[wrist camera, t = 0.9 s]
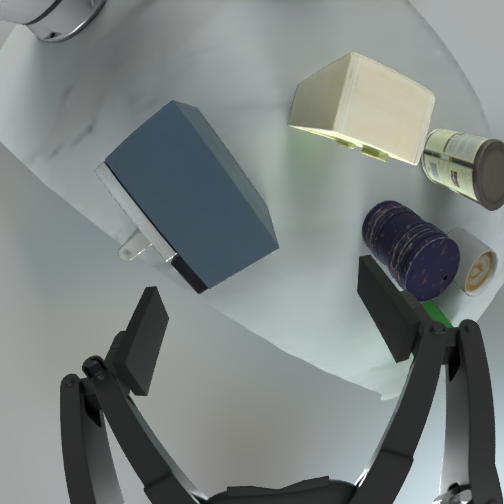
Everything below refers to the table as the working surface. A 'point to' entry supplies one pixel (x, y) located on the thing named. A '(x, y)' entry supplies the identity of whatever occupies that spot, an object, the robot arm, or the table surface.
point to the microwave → (195, 195)
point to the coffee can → (466, 165)
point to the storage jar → (411, 249)
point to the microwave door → (134, 220)
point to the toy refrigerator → (365, 108)
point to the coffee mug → (473, 262)
